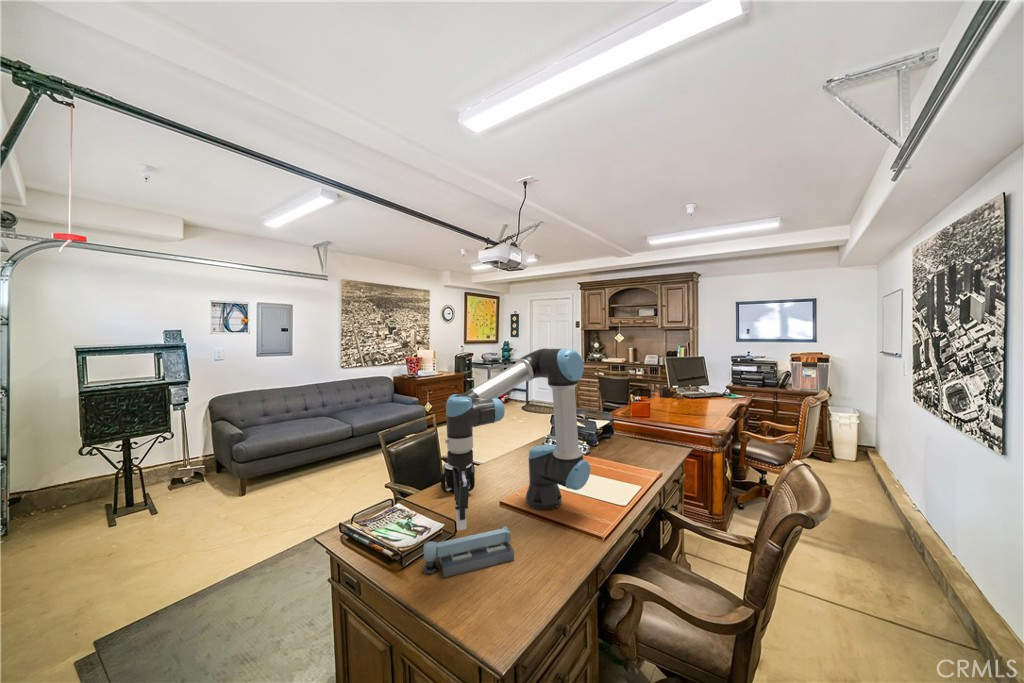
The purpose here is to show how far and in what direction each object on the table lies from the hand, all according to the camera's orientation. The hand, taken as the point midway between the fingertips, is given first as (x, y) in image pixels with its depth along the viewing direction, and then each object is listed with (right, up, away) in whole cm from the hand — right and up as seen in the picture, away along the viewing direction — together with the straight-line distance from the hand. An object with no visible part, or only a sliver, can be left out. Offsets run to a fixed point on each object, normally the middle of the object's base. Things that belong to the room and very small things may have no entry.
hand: (461, 528), depth 108 cm
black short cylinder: (-10, -14, +3) cm, 17 cm away
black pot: (-9, -13, +58) cm, 60 cm away
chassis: (+3, -13, +7) cm, 16 cm away
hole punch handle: (+1, -10, +7) cm, 12 cm away
